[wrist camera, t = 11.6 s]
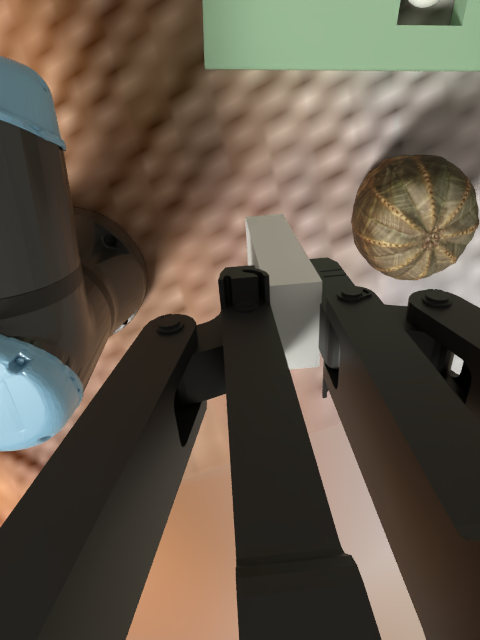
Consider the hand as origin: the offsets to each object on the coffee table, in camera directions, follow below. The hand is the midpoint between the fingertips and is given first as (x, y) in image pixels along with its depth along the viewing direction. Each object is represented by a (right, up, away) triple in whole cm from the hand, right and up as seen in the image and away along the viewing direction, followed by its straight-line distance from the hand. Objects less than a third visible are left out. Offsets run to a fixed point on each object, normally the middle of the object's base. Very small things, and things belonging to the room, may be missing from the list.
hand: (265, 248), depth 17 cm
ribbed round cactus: (+15, +10, +27) cm, 33 cm away
